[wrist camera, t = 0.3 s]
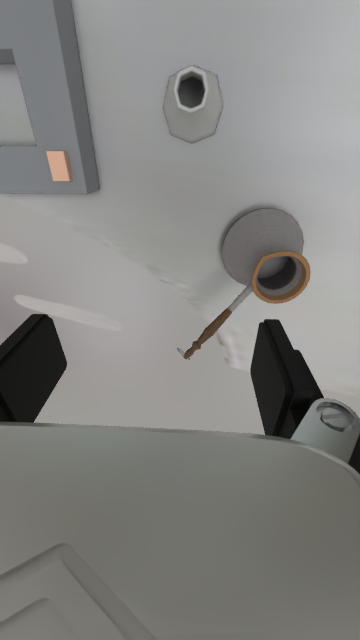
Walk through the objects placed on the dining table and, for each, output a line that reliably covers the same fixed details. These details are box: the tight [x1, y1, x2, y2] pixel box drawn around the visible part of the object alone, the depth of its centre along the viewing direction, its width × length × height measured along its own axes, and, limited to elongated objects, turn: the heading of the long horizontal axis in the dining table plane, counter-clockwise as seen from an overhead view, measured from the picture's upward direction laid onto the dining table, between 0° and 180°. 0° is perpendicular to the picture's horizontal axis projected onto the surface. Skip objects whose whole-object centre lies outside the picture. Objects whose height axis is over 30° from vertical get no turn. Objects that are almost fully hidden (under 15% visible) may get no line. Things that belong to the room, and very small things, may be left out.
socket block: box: [0, 0, 100, 194], centre depth 29 cm, size 18×18×6 cm
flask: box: [163, 65, 223, 143], centre depth 27 cm, size 7×7×10 cm
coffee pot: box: [177, 208, 310, 360], centre depth 35 cm, size 21×12×15 cm, turn 134°
